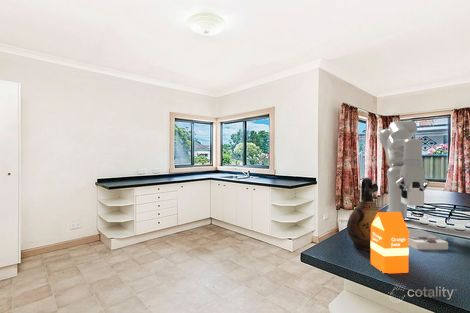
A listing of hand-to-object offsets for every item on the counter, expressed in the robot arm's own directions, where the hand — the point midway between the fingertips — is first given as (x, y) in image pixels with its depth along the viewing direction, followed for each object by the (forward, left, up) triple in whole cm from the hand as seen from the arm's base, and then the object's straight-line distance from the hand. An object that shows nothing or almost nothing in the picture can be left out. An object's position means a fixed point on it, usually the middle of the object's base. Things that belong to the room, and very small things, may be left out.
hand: (412, 197), depth 126 cm
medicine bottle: (0, 0, -4) cm, 4 cm away
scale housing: (+15, -7, -18) cm, 24 cm away
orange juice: (+39, -35, -18) cm, 55 cm away
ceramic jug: (+19, -33, -18) cm, 42 cm away
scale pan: (+13, -7, -14) cm, 20 cm away
